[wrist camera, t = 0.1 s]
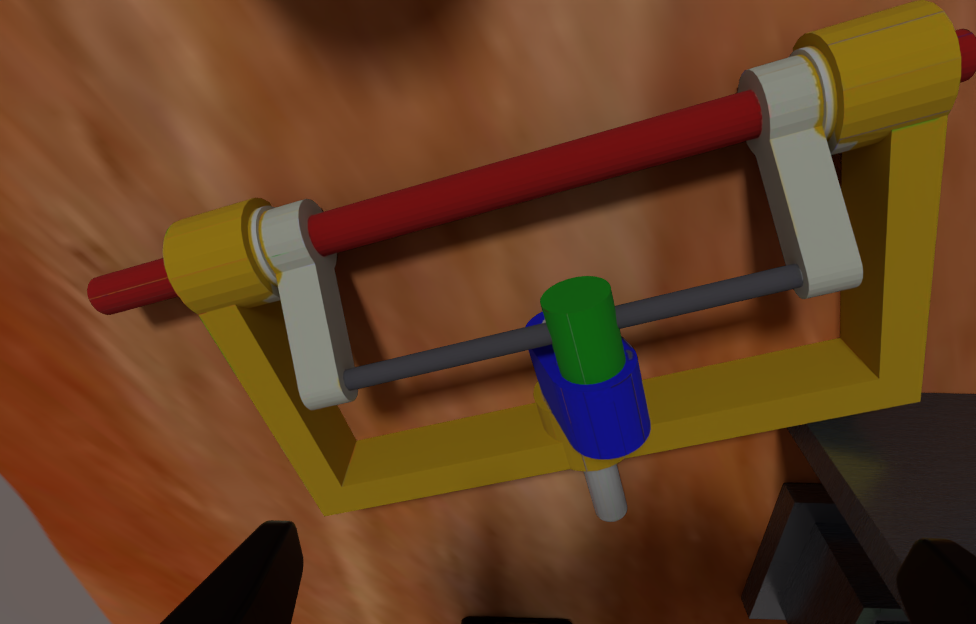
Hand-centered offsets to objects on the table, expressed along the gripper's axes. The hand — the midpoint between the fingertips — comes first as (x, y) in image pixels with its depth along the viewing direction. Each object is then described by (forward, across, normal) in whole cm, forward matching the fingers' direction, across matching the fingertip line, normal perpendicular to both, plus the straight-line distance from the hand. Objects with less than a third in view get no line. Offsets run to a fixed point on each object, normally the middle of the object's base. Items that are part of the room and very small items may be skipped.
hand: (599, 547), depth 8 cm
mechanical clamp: (+15, 0, +6) cm, 16 cm away
